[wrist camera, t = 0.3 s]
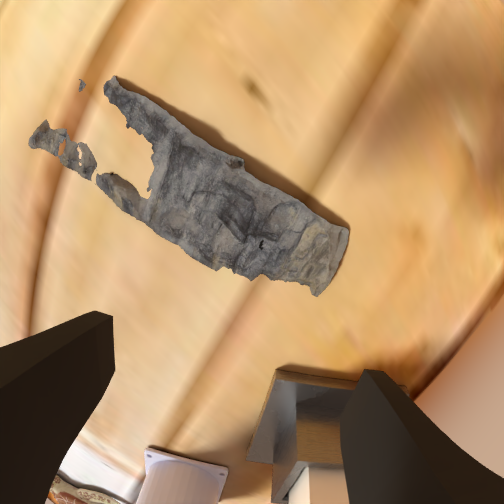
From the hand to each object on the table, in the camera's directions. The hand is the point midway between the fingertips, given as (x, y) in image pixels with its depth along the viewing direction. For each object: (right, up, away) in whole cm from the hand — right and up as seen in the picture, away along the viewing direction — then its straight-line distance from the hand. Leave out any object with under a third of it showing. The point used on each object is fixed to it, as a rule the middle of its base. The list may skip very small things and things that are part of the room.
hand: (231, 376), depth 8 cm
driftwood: (-3, +8, +9) cm, 13 cm away
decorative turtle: (-25, -34, +25) cm, 49 cm away
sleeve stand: (+6, -10, +13) cm, 18 cm away
